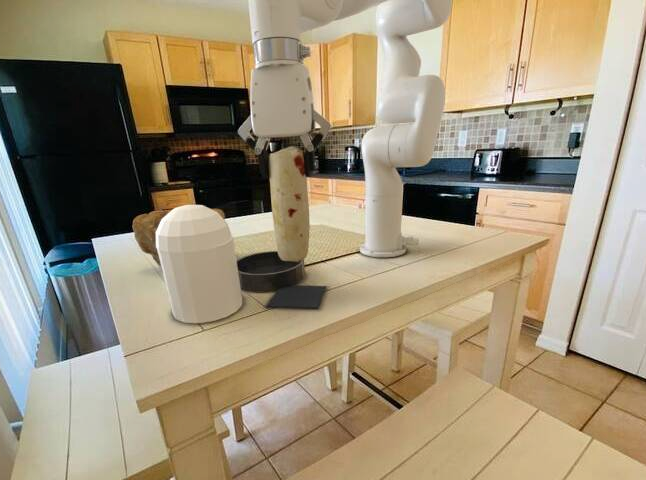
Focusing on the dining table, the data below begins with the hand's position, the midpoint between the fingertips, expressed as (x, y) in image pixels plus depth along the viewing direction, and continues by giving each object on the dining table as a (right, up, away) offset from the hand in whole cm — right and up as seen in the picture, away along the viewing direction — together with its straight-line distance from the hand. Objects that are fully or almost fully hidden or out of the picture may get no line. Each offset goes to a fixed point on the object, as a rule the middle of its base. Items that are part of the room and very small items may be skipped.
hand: (287, 176), depth 59 cm
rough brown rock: (-28, -16, +29) cm, 43 cm away
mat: (+1, -22, +9) cm, 24 cm away
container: (-16, -24, +7) cm, 30 cm away
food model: (+1, -14, +6) cm, 15 cm away
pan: (-6, -18, +20) cm, 27 cm away
